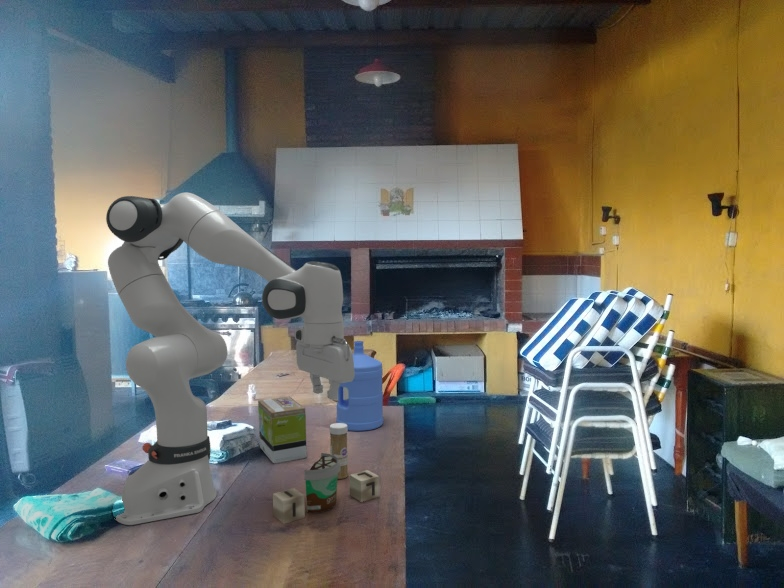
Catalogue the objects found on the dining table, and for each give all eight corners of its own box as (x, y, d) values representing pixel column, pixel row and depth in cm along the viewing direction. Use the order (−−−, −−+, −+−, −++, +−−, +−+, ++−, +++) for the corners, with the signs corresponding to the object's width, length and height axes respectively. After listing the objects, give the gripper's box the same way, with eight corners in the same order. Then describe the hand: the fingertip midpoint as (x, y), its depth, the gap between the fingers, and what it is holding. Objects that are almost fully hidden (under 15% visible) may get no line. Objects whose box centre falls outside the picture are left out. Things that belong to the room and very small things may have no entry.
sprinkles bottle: (341, 481, 146) (340, 428, 145) (326, 477, 148) (325, 426, 147) (351, 474, 150) (350, 423, 149) (336, 471, 152) (336, 421, 151)
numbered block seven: (361, 502, 133) (361, 480, 133) (349, 495, 137) (349, 473, 137) (379, 497, 136) (379, 475, 135) (367, 490, 140) (367, 469, 140)
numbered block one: (283, 524, 123) (283, 500, 122) (273, 515, 127) (272, 492, 126) (305, 518, 125) (304, 494, 125) (294, 509, 130) (293, 487, 129)
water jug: (385, 418, 201) (384, 338, 199) (380, 432, 185) (379, 345, 183) (341, 417, 202) (339, 338, 200) (332, 431, 187) (330, 345, 185)
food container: (332, 518, 125) (331, 472, 124) (304, 515, 126) (303, 470, 126) (347, 494, 137) (347, 453, 136) (322, 493, 138) (322, 452, 138)
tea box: (258, 448, 171) (257, 399, 170) (291, 443, 175) (290, 395, 174) (272, 464, 158) (271, 411, 157) (307, 458, 162) (306, 406, 161)
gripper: (361, 338, 123) (362, 402, 124) (314, 329, 139) (315, 385, 140) (335, 341, 119) (336, 407, 120) (290, 331, 135) (292, 389, 136)
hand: (325, 395), depth 130 cm, fingers open, 5 cm apart
